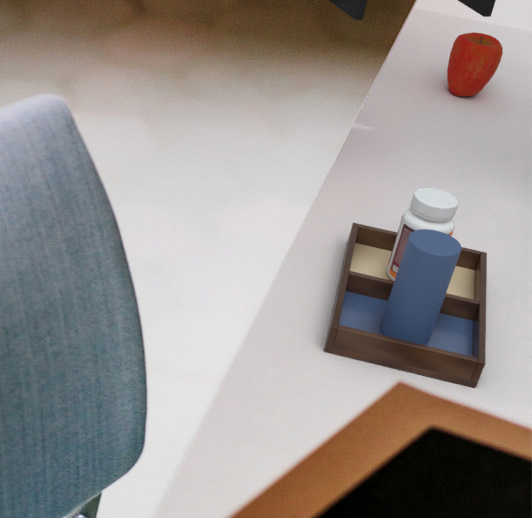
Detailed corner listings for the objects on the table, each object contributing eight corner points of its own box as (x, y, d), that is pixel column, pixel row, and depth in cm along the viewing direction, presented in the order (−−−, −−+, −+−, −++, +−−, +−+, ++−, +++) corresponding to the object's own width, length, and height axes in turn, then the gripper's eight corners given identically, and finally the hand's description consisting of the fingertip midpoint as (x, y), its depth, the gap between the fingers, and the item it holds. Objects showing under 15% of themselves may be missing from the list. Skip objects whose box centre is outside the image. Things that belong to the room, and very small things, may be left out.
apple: (483, 108, 150) (503, 49, 145) (435, 95, 151) (453, 37, 147) (490, 91, 154) (510, 34, 150) (443, 79, 156) (461, 22, 151)
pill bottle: (442, 292, 111) (470, 211, 106) (393, 289, 110) (419, 208, 105) (426, 265, 115) (453, 186, 109) (379, 263, 114) (403, 183, 109)
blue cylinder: (431, 325, 106) (462, 236, 100) (428, 351, 103) (461, 260, 97) (382, 313, 107) (410, 224, 101) (378, 338, 103) (407, 248, 98)
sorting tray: (478, 275, 116) (487, 252, 114) (475, 388, 100) (485, 363, 99) (346, 245, 118) (353, 222, 116) (323, 351, 102) (331, 326, 101)
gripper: (409, -34, 127) (529, 41, 112) (198, -32, 119) (296, 48, 104) (429, -109, 123) (557, -42, 107) (211, -112, 114) (315, -40, 99)
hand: (429, 3), depth 106 cm, fingers open, 13 cm apart
